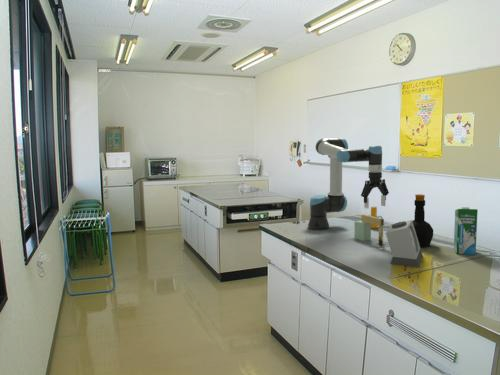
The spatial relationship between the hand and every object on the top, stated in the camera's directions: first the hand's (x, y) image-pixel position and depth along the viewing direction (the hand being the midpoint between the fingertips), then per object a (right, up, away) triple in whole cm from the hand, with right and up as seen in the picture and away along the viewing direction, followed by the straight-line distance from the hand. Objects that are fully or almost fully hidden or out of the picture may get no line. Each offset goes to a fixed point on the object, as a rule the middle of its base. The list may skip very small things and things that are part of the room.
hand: (375, 207), depth 227 cm
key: (0, -21, +5) cm, 22 cm away
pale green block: (-4, -21, +12) cm, 24 cm away
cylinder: (+13, -17, +43) cm, 48 cm away
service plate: (-1, -22, +6) cm, 23 cm away
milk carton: (+43, -24, -19) cm, 53 cm away
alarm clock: (+6, -26, -28) cm, 39 cm away
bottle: (+25, -23, -2) cm, 34 cm away
